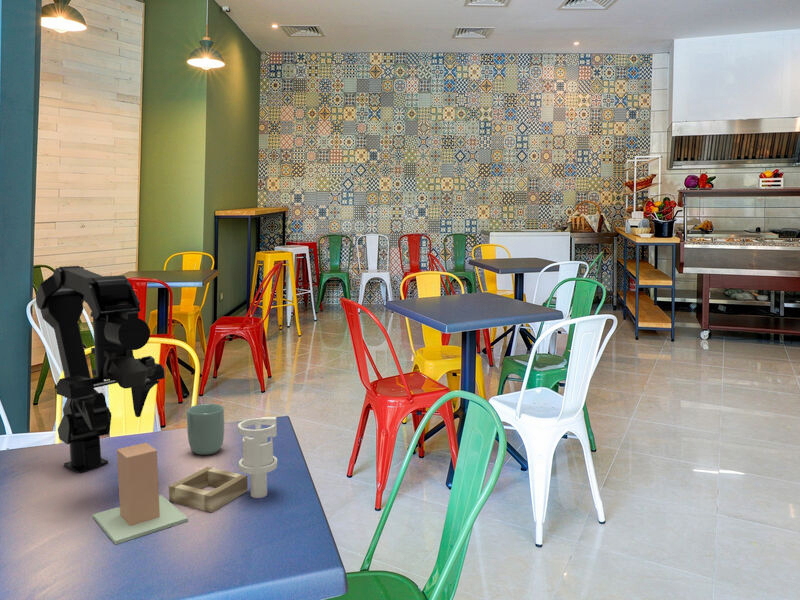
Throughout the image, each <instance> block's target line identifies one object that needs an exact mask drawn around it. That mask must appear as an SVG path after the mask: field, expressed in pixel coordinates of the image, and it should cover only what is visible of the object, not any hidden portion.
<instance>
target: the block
mask: <svg viewBox="0 0 800 600" xmlns="http://www.w3.org/2000/svg"><path fill="white" fill-rule="evenodd" d="M157 450H158V449H156V448H154V447H153V446H152V445H150V444H149V443H147V442H144V443H139V444H133V445H130V446H125V447H120V448H117V449H116V457H117V458H116V460H117V461H116V462H117V477H118V478H117V480H118V493H119V495H118V497H119V498H118V499H119V507H120V516H121V517H122V518H123V519H124V520H125V521H126V522H127V523H128V524H129V525H130V526H132V525H135V524H138V523H142V522H145V521H148V520H151V519H155V518H158V517H160V509H159V495H160V494H159V493H160V491H159V490H160V488H159V487H160V486H159V470H158V469H159V466H158V451H157Z"/></svg>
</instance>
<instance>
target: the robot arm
mask: <svg viewBox="0 0 800 600" xmlns="http://www.w3.org/2000/svg"><path fill="white" fill-rule="evenodd" d="M84 302H85V303H86V304H87V306H88V307H89V309H90V311H91V312H90V313H89V314H90V317H91V318H92V326H93V342H94V343H93V345H94V347H91V348H90V351H91V354H93V355H94V359H95V360H94V361H95V368H92V369H91V370H92V375H93V376H95V377H91V373H90V368H89V365H88V359H87V356H86V351H85V347H84V342H83V339H82V333H81V329H80V325H79V321H80V318H81V316H82V313H83V311H84ZM35 303H36V306H37V308H38V310H40V314H41V317H42V319H43V321H45V322H46V323H47V325H49V326H50V327H51V328H52V329H53V331H54V336H55V340H56V344H57V349H58V352H59V353H58V354H59V357H60V362H61V363H60V364H61V367H62V372H63V376H64V378H63V377H62V378H60V379H59V380H58V382H57V383H56V385H55V386H56V387H55V388H56V389H55V390H56V395H58V396H61V397H63V398H66V400H65V403H64V406H63V408H62V414H63V416H62V418H61V420H60V423H59V425H58V428H57V434H58V438H59V440H60V441H61V442H63V443H64V444H67V445H69V455H70V456H69V458H70V461H67V462H64V463H63V467H65V468H67V469H69V470H72V471H74V472H76V473H83V472H86V471H89V470H91V469H95V468H99V467H102V466H104V465H108V464H109V460H107V459H105V458H103V457H102V451H101V438H100V437H101V436H108V435H109V434H110V431H111V423H112V422H111V421H112V412H111V411H110V408H109V407H108V405H107V401H106V396H105V394H104V393H103V392H98V390H97V389H95V388H100V387H103V386H110V385H115V384H117V385H119V387H120V388H122V389H130V390H131V399H132V406H133V413H134V416H135V417H136V418H141V416H142V413H143V409H144V408H145V403H146V401H147V397H148V394H149V392H150V391H151V389H152V388H153V387H154V386H156V385H158V384H159V383H160V380H163V379H165V378H166V371H165V370H166V369H165V368H164V366H163V365H162V364H160V363H157V362H156V360H155V358H154V357H153V356H151V355H148V356H141V357H138V358H135V356H134V351H138V350H140V349H142V348H143V347H145V346H146V345H147V344H148V342H149V340H150V338H151V329H150V328H149V325H148V324H147V322H146V321H145V320H143V319H142V318H140V317H139V313H140V312H141V308H140V304H141V302H140V300H139V298H138V296H137V294H136V292H135V290H134V288H133V285H132V284H131V282H130V281H129V280H128V278H127V277H126V275H123V274H120V275H101V274H98V273H97V272H96V273H95V272H93V271H90V270H88V269H85V268H84V267H83V266H80V265H68V266H67V265H65V266H59V267H55V269H54V272H53V274H52V275H50V276H49V277H47V278H46V279H45V280H44V281H42V282H41V283H39V287H38V289H37V292H36V295H35Z"/></svg>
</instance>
